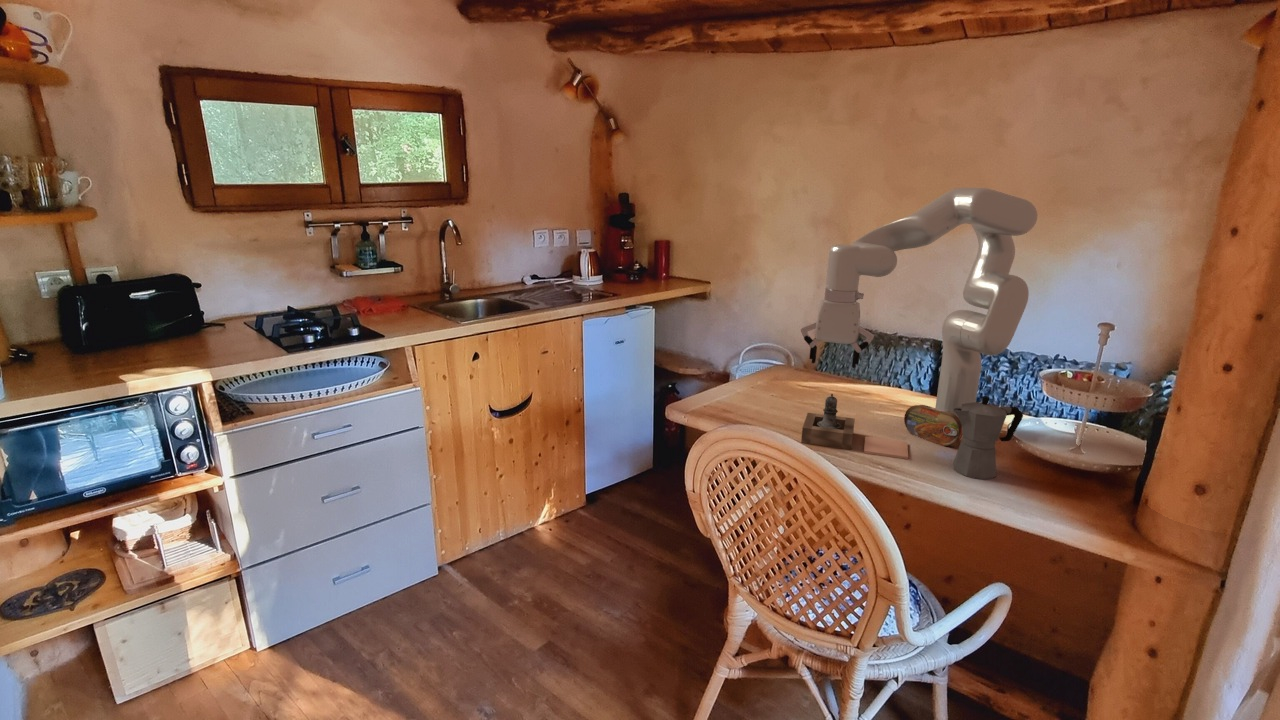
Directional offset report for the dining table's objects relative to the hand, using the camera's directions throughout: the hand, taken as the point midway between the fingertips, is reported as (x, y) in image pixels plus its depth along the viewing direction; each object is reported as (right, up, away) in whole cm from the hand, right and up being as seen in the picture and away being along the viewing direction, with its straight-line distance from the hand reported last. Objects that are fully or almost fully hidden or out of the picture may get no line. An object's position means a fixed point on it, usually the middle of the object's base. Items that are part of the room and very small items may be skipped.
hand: (833, 364), depth 161 cm
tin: (+27, -20, +5) cm, 33 cm away
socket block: (0, -19, +5) cm, 20 cm away
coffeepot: (+29, -24, -13) cm, 40 cm away
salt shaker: (0, -19, +5) cm, 20 cm away
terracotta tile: (+13, -21, -1) cm, 24 cm away
